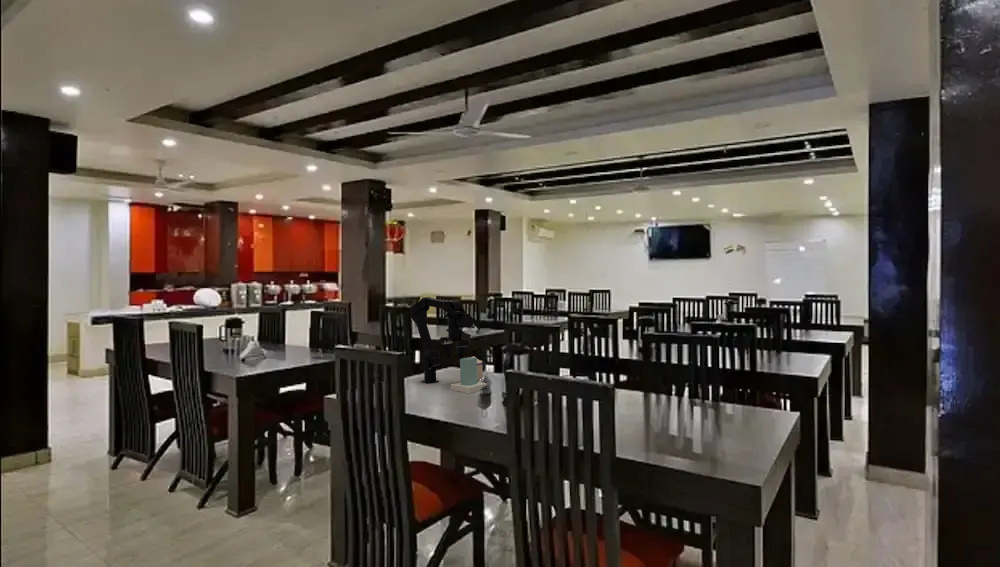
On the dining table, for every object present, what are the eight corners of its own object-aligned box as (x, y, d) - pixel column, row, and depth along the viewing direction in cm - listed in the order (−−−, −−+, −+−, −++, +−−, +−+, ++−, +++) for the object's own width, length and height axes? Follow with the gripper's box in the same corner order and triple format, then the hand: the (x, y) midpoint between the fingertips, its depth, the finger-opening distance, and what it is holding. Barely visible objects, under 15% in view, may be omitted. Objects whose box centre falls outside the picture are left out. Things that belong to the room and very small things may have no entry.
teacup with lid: (486, 378, 301) (486, 356, 301) (476, 382, 294) (475, 358, 293) (467, 376, 308) (467, 354, 307) (456, 379, 300) (456, 357, 300)
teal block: (460, 384, 277) (460, 358, 277) (469, 382, 282) (469, 357, 281) (468, 385, 274) (467, 359, 274) (477, 383, 278) (476, 358, 278)
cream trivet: (450, 389, 278) (450, 384, 278) (469, 385, 287) (469, 380, 286) (468, 393, 270) (468, 387, 270) (487, 388, 278) (487, 383, 278)
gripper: (479, 326, 282) (479, 359, 282) (457, 324, 297) (458, 355, 297) (459, 329, 275) (460, 362, 276) (438, 326, 290) (439, 357, 290)
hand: (454, 359), depth 285 cm, fingers open, 9 cm apart
